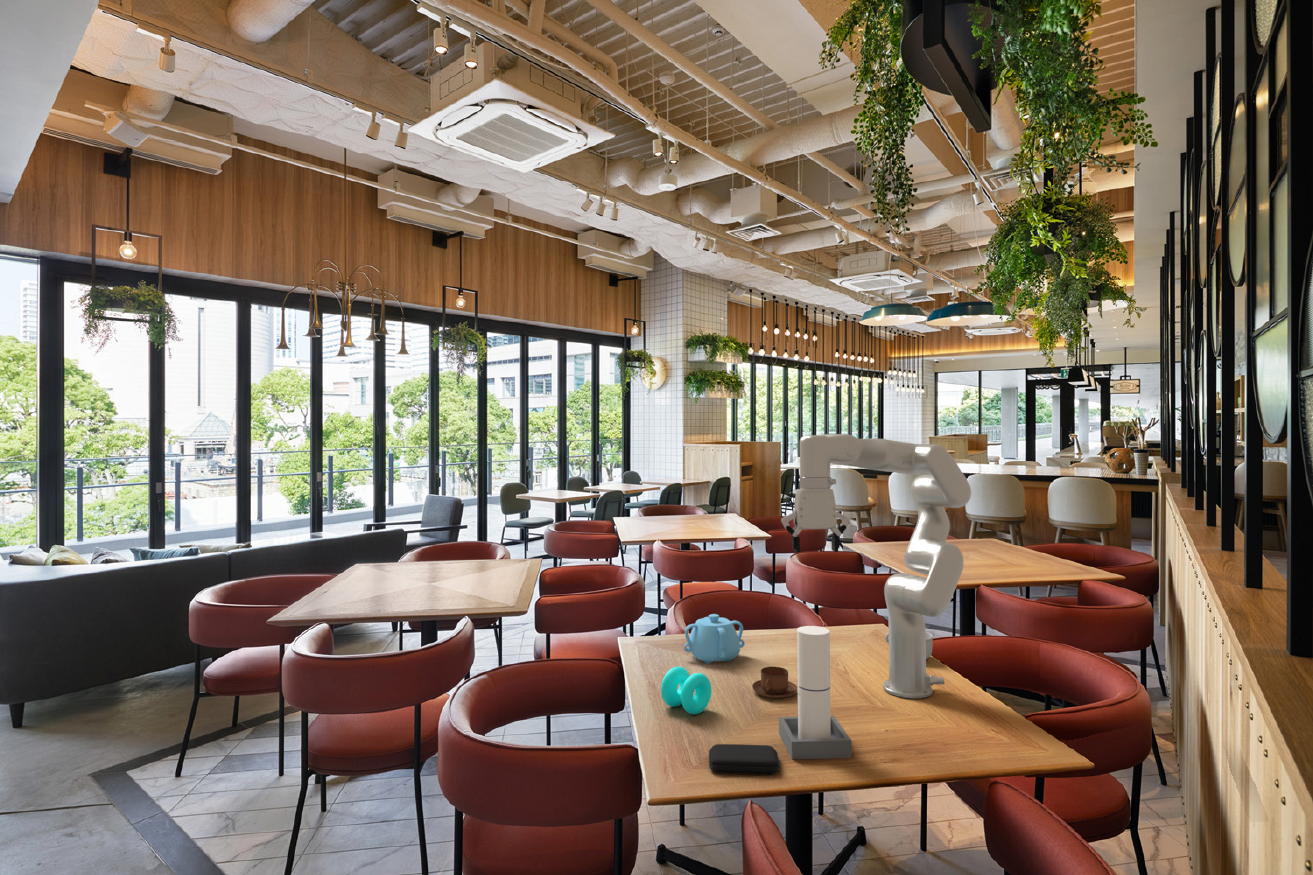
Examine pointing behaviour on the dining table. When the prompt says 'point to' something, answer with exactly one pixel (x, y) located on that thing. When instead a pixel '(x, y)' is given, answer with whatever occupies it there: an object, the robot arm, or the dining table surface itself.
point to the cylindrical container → (813, 682)
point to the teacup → (928, 643)
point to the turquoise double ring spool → (686, 690)
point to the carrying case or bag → (743, 759)
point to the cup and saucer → (774, 683)
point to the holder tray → (814, 741)
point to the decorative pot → (714, 639)
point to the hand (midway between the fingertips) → (815, 551)
